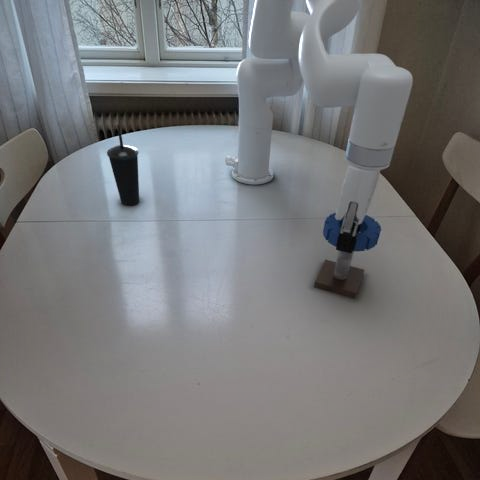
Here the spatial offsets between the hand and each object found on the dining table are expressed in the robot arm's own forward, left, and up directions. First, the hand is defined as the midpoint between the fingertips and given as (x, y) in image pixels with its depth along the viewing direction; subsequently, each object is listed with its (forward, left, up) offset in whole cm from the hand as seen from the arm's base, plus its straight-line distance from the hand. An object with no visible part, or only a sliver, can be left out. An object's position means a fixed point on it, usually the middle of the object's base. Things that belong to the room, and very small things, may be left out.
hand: (346, 245), depth 84 cm
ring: (0, +4, 0) cm, 4 cm away
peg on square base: (0, +4, -12) cm, 12 cm away
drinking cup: (-60, +14, -12) cm, 63 cm away
